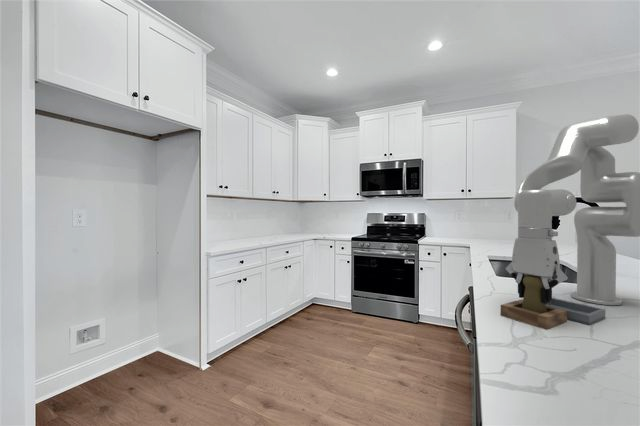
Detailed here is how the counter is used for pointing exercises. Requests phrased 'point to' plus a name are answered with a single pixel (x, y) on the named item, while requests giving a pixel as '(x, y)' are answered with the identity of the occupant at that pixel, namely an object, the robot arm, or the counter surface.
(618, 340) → the counter surface
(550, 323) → the socket block
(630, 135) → the robot arm
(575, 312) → the tray
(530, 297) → the cork
